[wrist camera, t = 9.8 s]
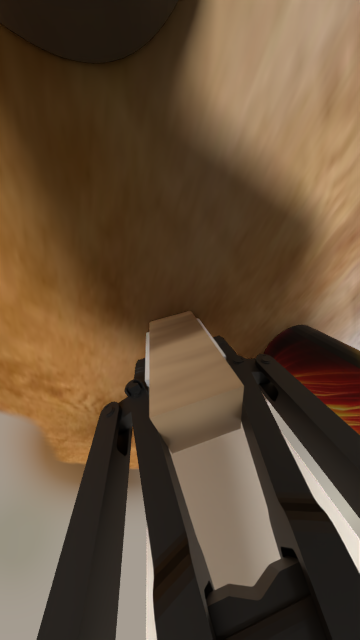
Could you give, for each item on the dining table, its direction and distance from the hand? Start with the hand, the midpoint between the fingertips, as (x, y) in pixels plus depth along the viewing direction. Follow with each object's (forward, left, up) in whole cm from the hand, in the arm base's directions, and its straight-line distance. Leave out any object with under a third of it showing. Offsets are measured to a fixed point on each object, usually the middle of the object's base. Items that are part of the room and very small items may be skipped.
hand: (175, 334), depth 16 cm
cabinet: (+21, +1, 0) cm, 21 cm away
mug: (+12, +19, -1) cm, 22 cm away
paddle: (+10, 0, 0) cm, 10 cm away
